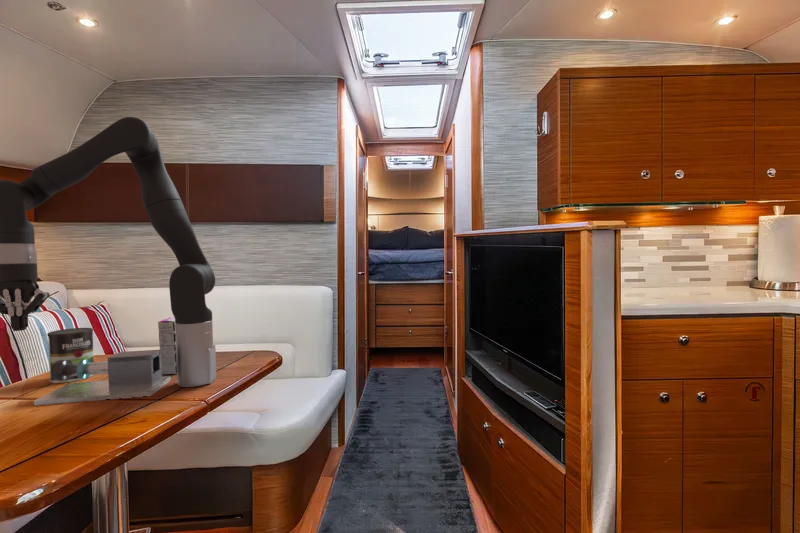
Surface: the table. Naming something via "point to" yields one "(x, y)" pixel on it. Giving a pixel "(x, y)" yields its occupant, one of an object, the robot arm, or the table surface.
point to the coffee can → (70, 347)
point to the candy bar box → (168, 346)
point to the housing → (116, 380)
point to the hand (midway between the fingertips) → (19, 330)
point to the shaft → (77, 369)
